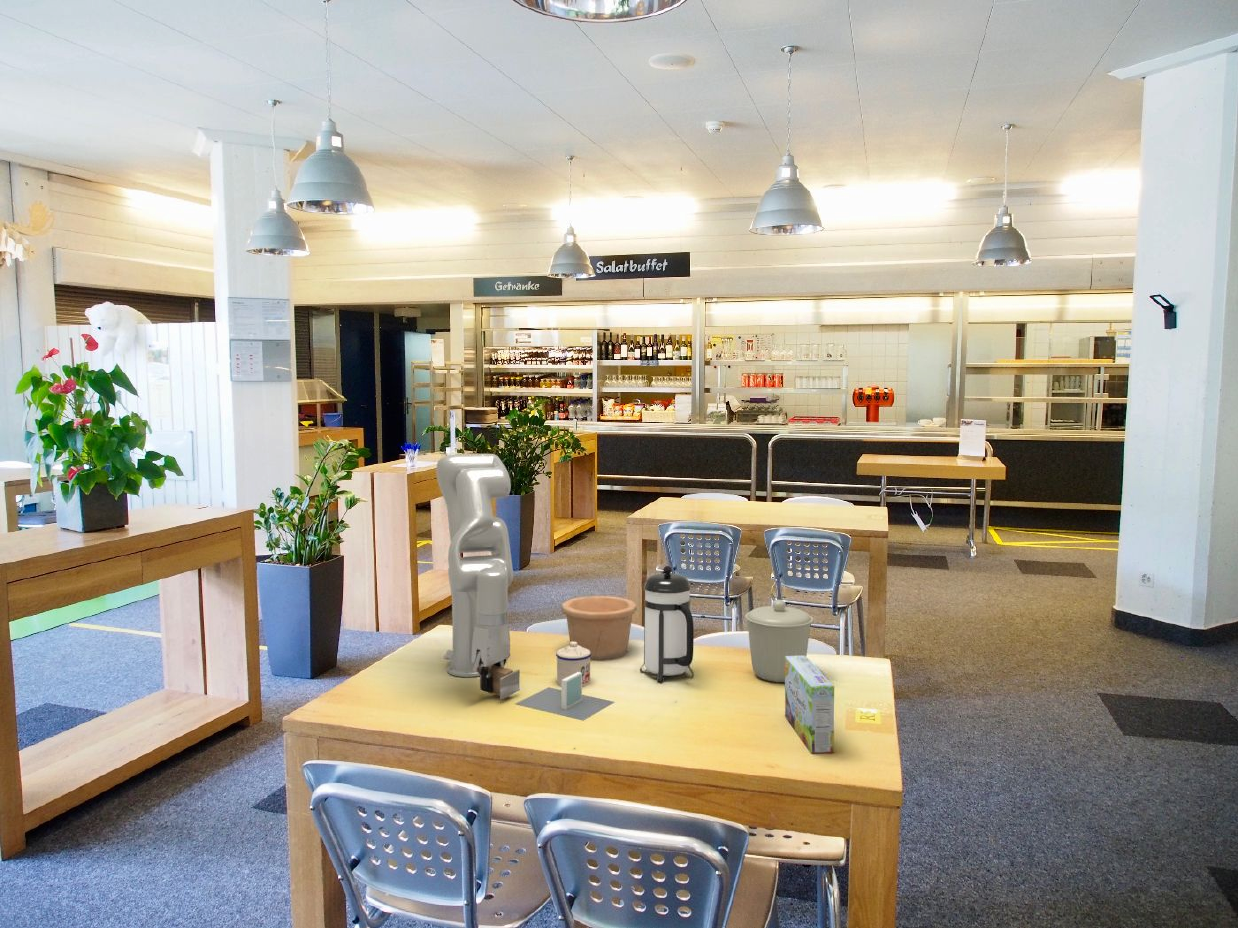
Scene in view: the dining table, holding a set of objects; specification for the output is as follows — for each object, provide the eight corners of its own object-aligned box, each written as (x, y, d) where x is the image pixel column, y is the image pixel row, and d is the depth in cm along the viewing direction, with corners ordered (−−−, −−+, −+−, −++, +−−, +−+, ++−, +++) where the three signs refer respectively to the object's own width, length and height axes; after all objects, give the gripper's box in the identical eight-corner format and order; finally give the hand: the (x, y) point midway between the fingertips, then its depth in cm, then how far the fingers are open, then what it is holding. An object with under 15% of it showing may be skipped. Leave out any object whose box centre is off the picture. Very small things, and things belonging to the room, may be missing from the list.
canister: (783, 692, 220) (785, 612, 218) (730, 675, 234) (731, 599, 232) (825, 677, 232) (827, 600, 230) (772, 661, 246) (773, 589, 244)
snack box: (782, 717, 204) (783, 654, 203) (805, 716, 204) (806, 654, 203) (809, 754, 183) (811, 685, 182) (835, 753, 183) (837, 684, 182)
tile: (561, 708, 206) (561, 679, 205) (577, 699, 212) (577, 671, 211) (565, 709, 205) (565, 680, 205) (582, 700, 211) (582, 672, 211)
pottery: (649, 648, 258) (649, 601, 257) (609, 668, 239) (610, 617, 238) (589, 637, 269) (589, 592, 268) (547, 655, 251) (547, 607, 250)
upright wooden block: (474, 692, 213) (474, 669, 212) (492, 683, 219) (493, 660, 218) (501, 700, 209) (501, 676, 208) (519, 690, 215) (519, 667, 214)
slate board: (514, 707, 209) (514, 703, 209) (548, 690, 221) (548, 687, 221) (583, 724, 199) (583, 720, 198) (615, 705, 211) (615, 701, 210)
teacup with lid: (582, 693, 219) (582, 649, 218) (550, 689, 222) (550, 645, 221) (600, 679, 230) (600, 636, 229) (569, 675, 233) (569, 633, 232)
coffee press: (629, 680, 229) (630, 569, 226) (650, 663, 244) (650, 558, 241) (692, 689, 222) (693, 575, 220) (709, 670, 237) (710, 563, 235)
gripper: (501, 607, 221) (500, 675, 224) (458, 623, 207) (458, 696, 210) (524, 612, 217) (523, 681, 220) (482, 629, 204) (481, 703, 206)
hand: (491, 688), depth 215 cm, fingers closed on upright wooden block, 3 cm apart
